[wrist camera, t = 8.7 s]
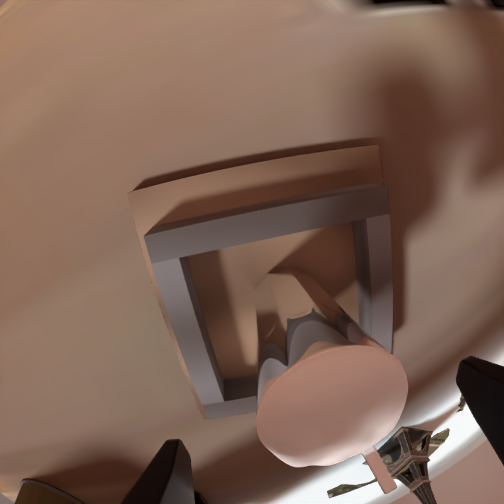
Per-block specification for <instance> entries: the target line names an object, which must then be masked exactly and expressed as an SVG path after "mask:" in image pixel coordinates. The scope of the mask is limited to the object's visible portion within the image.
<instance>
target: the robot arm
mask: <svg viewBox="0 0 504 504" xmlns="http://www.w3.org/2000/svg"><path fill="white" fill-rule="evenodd" d="M456 383H457V386H458V388H459V389H460V391H461V393H462V395H463V397H464V399H465V401H466V403H467V405H468V407H469V409H470V411H471V413H472V415H473V417H474V418H475V420H476V422H477V423H478V425H479V426H480V428H481V429H482V431H483V433H484V434H485V436H486V437H487V439H488V441H489V442H490V444H491V445H492V447H493V449H494V450H495V452H496V454H497V455H498V457H499V459H500V460H501V462H502V464H503V465H504V366H501V365H498V364H495V363H491V362H488V361H485V360H482V359H479V358H476V357H473V356H469V357H467V358H465V359H463V360H461V362H460V364H459V368H458V372H457V376H456ZM120 504H207V503H206V501H205V500H204V499H203V497H202V496H201V495H200V494H199V493H194V489H193V479H192V467H191V458H190V455H189V453H188V451H187V449H186V448H185V446H184V444H183V442H182V441H181V440H180V439H169V440H167V441H165V443H164V444H163V445H162V447H161V448H160V450H159V451H158V452H157V454H156V455H155V457H154V458H153V459H152V461H151V462H150V464H149V465H148V466H147V468H146V469H145V471H144V472H143V473H142V475H141V476H140V478H139V479H138V480H137V482H136V483H135V484H134V486H133V487H132V488H131V490H130V491H129V493H128V494H127V495H126V497H125V498H124V499H123V501H122V502H121V503H120Z"/></svg>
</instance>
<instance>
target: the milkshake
mask: <svg viewBox="0 0 504 504" xmlns="http://www.w3.org/2000/svg"><path fill="white" fill-rule="evenodd" d="M254 321H255V337H256V353H257V365H256V416H257V417H256V430H257V434H258V437H259V439H260V441H261V442H262V443H263V445H264V446H265V447H266V448H267V449H268V450H270V451H271V452H272V453H273V454H274V455H275V456H277V457H278V458H279V459H280V460H282V461H283V462H285V463H286V464H288V465H290V466H293V467H305V466H310V465H318V466H329V465H334V464H337V463H339V462H341V461H343V460H345V459H348V458H350V457H352V456H355V455H357V454H360V453H362V455H363V456H364V458H365V460H366V462H367V464H368V465H369V467H370V469H371V471H372V473H373V474H374V476H375V478H376V480H377V482H378V483H379V485H380V487H381V489H382V490H383V492H384V493H385V494H387V493H389V492H391V491H393V490H395V489H396V488H397V485H396V483H395V482H394V480H393V478H392V476H391V474H390V473H389V471H388V469H387V467H386V466H385V464H384V462H383V460H382V459H381V457H380V455H379V453H378V452H377V450H376V448H375V447H374V445H375V444H376V443H377V442H378V441H380V440H381V439H382V438H384V437H385V436H386V435H388V434H389V433H390V432H391V431H392V430H393V428H394V427H395V425H396V424H397V422H398V420H399V418H400V416H401V414H402V411H403V409H404V406H405V403H406V399H407V394H408V381H407V377H406V374H405V371H404V369H403V366H402V365H401V363H400V362H399V361H398V359H396V358H395V357H394V356H393V355H392V354H391V353H390V352H389V351H387V350H386V349H385V348H384V347H383V346H382V345H381V344H380V343H379V342H378V341H377V340H376V339H374V338H373V337H372V336H371V335H370V334H369V333H368V332H367V331H366V330H365V329H364V328H363V327H361V326H360V325H359V324H358V323H357V322H356V321H355V320H354V319H353V318H352V317H351V316H350V315H349V314H348V313H347V312H346V311H345V310H344V309H343V308H342V307H341V306H340V305H339V304H338V303H337V302H336V301H335V300H334V299H333V298H332V297H331V296H330V295H329V294H328V293H327V292H326V291H325V290H324V289H323V288H322V287H321V286H320V285H319V284H318V283H317V282H316V281H315V280H314V279H313V278H312V277H311V276H310V275H309V274H307V273H305V272H302V271H298V270H295V269H292V268H288V267H287V268H284V269H281V270H278V271H275V272H272V273H268V274H267V275H266V276H265V277H264V279H263V280H262V281H261V282H260V284H259V285H258V286H257V287H256V289H255V290H254Z"/></svg>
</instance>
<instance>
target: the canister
mask: <svg viewBox="0 0 504 504" xmlns="http://www.w3.org/2000/svg"><path fill="white" fill-rule="evenodd" d="M20 486H21V489H20V491H19V494H18V496H17V499H16V501H15V504H83V503H82V502H81V501H79V500H77V499H76V498H74V497H72V496H70V495H69V494H67V493H65V492H63V491H60V490H58V489H56V488H54V487H52V486H50V485H47V484H44V483H42V482H39V481H35V480H30V479H26V480H22V481H21V484H20Z"/></svg>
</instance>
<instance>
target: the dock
mask: <svg viewBox="0 0 504 504" xmlns="http://www.w3.org/2000/svg"><path fill="white" fill-rule="evenodd" d="M127 194H128V198H129V202H130V206H131V210H132V214H133V218H134V222H135V226H136V229H137V233H138V237H139V240H140V244H141V247H142V251H143V254H144V258H145V261H146V265H147V268H148V271H149V274H150V278H151V281H152V284H153V287H154V290H155V293H156V296H157V299H158V302H159V305H160V308H161V311H162V314H163V317H164V320H165V323H166V326H167V328H168V331H169V334H170V337H171V339H172V342H173V345H174V348H175V350H176V353H177V355H178V358H179V361H180V363H181V366H182V368H183V371H184V373H185V376H186V378H187V381H188V383H189V386H190V388H191V390H192V393H193V395H194V398H195V400H196V402H197V405H198V407H199V409H200V411H201V414H202V416H203V418H204V419H215V418H221V417H228V416H234V415H240V414H245V413H251V412H256V365H257V353H256V337H255V321H254V290H255V289H256V287H257V286H258V285H259V284H260V282H261V281H262V280H263V279H264V277H265V276H266V275H267V274H268V273H272V272H275V271H278V270H281V269H284V268H287V267H288V268H292V269H295V270H298V271H302V272H305V273H307V274H309V275H310V276H311V277H312V278H313V279H314V280H315V281H316V282H317V283H318V284H319V285H320V286H321V287H322V288H323V289H324V290H325V291H326V292H327V293H328V294H329V295H330V296H331V297H332V298H333V299H334V300H335V301H336V302H337V303H338V304H339V305H340V306H341V307H342V308H343V309H344V310H345V311H346V312H347V313H348V314H349V315H350V316H351V317H352V318H353V319H354V320H355V321H356V322H357V323H358V324H359V325H360V326H361V327H363V328H364V329H365V330H366V331H367V332H368V333H369V334H370V335H371V336H372V337H373V338H374V339H376V340H377V341H378V342H379V343H380V344H381V345H382V346H383V347H384V348H385V349H386V350H387V351H389V352H390V353H391V349H392V327H393V262H392V239H391V224H390V211H389V200H388V190H387V187H385V186H384V183H383V174H382V167H381V159H380V152H379V146H378V145H368V146H360V147H351V148H343V149H336V150H329V151H321V152H315V153H308V154H302V155H295V156H289V157H283V158H277V159H272V160H266V161H261V162H255V163H250V164H245V165H240V166H235V167H230V168H225V169H221V170H216V171H211V172H207V173H202V174H198V175H194V176H189V177H185V178H181V179H177V180H173V181H169V182H165V183H161V184H157V185H153V186H149V187H145V188H142V189H138V190H134V191H131V192H128V193H127Z"/></svg>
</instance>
